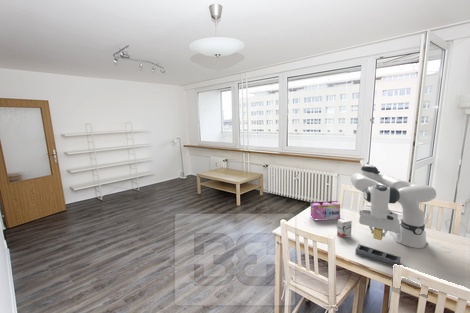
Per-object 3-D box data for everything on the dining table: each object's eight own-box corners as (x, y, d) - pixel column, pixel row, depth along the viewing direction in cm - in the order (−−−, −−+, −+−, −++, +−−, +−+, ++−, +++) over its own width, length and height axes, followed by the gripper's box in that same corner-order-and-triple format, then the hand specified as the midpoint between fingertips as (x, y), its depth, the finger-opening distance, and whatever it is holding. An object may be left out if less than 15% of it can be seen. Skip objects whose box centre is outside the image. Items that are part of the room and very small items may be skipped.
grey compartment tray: (355, 254, 139) (355, 248, 139) (358, 249, 144) (358, 244, 144) (398, 268, 124) (398, 262, 123) (400, 262, 129) (400, 257, 128)
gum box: (337, 215, 195) (337, 200, 193) (341, 219, 187) (342, 204, 185) (310, 216, 196) (310, 202, 193) (313, 220, 188) (313, 205, 186)
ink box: (341, 238, 158) (342, 222, 157) (336, 234, 163) (337, 219, 161) (351, 235, 161) (352, 220, 159) (346, 232, 165) (346, 217, 164)
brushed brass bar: (373, 238, 132) (373, 228, 131) (374, 235, 135) (375, 226, 134) (381, 240, 129) (381, 230, 128) (382, 237, 132) (383, 228, 131)
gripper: (358, 210, 135) (357, 231, 137) (399, 219, 120) (397, 242, 123) (361, 207, 139) (360, 227, 141) (401, 215, 125) (399, 237, 127)
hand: (378, 234), depth 132 cm, fingers closed on brushed brass bar, 4 cm apart
